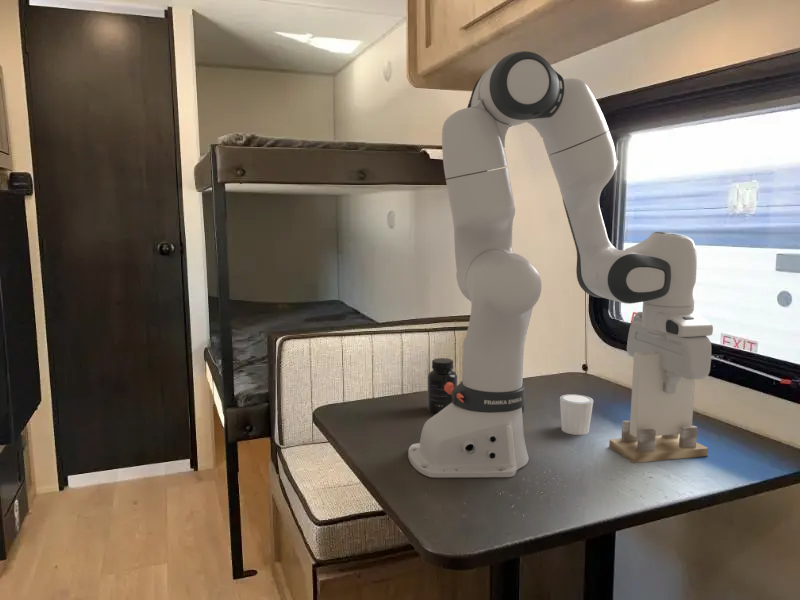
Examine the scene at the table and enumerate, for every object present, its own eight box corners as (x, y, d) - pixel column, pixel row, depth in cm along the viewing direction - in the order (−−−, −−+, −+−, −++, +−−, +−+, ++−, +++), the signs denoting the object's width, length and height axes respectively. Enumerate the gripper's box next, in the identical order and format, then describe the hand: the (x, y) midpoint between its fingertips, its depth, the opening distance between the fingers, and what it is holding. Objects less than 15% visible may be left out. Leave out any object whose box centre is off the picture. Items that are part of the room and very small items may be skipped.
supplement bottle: (431, 404, 147) (431, 355, 146) (459, 407, 146) (460, 357, 144) (424, 413, 141) (425, 362, 139) (453, 416, 139) (454, 364, 137)
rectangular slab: (639, 439, 116) (644, 356, 114) (629, 433, 119) (633, 352, 117) (694, 434, 119) (700, 353, 116) (683, 428, 122) (689, 349, 119)
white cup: (568, 422, 136) (570, 391, 135) (597, 430, 131) (599, 398, 130) (552, 429, 131) (553, 398, 130) (581, 438, 126) (583, 405, 125)
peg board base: (633, 462, 114) (634, 434, 113) (609, 446, 122) (610, 420, 121) (707, 455, 118) (710, 428, 117) (680, 440, 125) (682, 414, 125)
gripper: (620, 310, 125) (617, 376, 127) (688, 329, 106) (683, 407, 108) (648, 309, 127) (644, 375, 129) (720, 328, 107) (714, 404, 109)
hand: (662, 390), depth 118 cm, fingers closed on rectangular slab, 2 cm apart
